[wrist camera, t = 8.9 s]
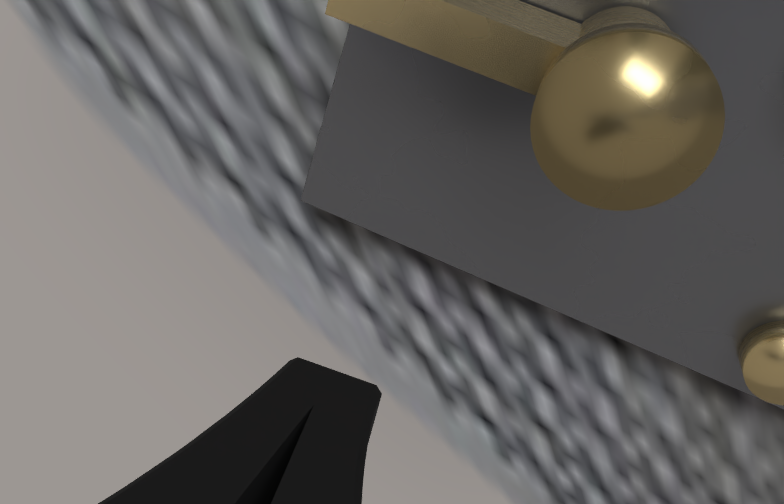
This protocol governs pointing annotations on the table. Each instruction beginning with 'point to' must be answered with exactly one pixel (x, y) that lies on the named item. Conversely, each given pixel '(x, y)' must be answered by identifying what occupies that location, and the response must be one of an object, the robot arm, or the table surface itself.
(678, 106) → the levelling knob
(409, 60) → the base plate
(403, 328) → the table surface
